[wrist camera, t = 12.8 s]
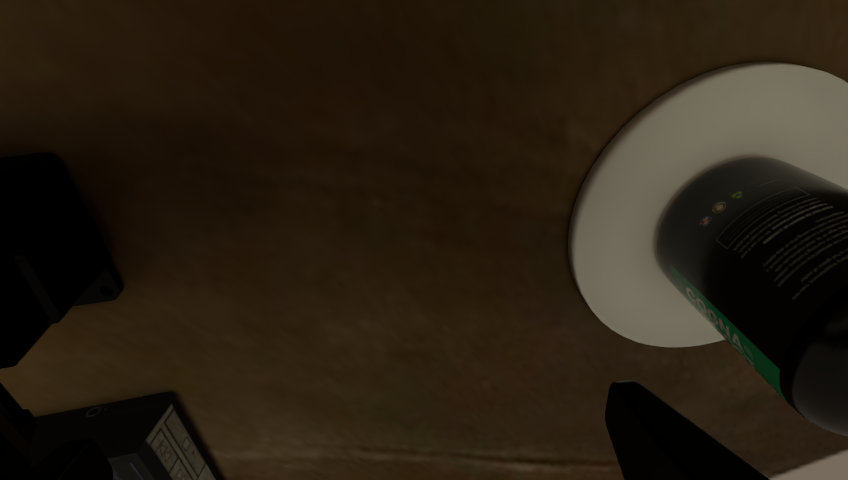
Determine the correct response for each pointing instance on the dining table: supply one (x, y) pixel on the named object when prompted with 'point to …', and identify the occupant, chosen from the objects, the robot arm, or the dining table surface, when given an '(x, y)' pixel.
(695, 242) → the supplement bottle
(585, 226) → the cream plate
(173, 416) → the portable cd player
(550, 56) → the dining table surface
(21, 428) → the robot arm
